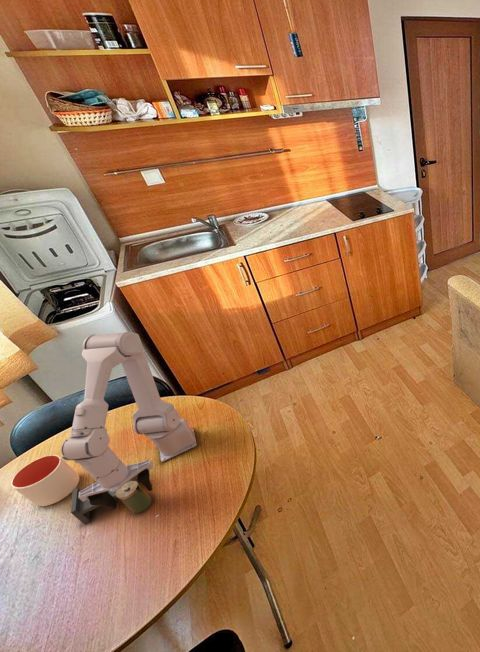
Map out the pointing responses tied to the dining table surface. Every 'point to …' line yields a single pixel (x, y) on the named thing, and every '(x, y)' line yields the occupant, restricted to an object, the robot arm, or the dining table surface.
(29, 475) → the cup
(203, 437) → the dining table surface
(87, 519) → the grey channel-top block
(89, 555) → the dining table surface
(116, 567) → the dining table surface
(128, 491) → the canister
